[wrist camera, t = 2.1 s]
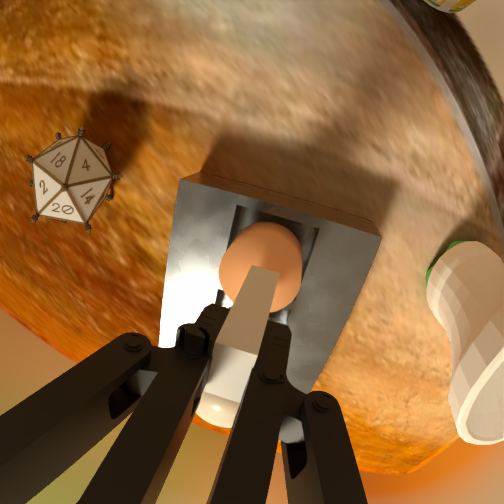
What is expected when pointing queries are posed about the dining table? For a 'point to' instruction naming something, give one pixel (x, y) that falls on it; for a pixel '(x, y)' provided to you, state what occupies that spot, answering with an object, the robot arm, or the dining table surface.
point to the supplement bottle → (449, 5)
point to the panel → (313, 268)
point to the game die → (71, 179)
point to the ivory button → (217, 410)
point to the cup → (472, 336)
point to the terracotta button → (264, 261)
